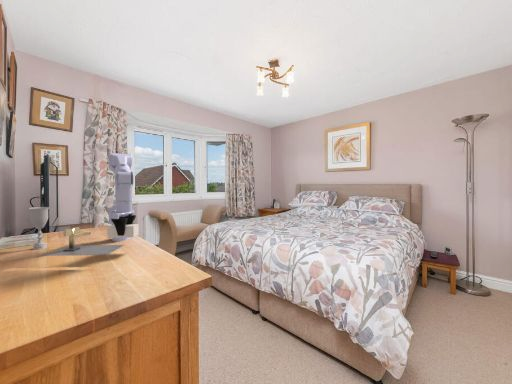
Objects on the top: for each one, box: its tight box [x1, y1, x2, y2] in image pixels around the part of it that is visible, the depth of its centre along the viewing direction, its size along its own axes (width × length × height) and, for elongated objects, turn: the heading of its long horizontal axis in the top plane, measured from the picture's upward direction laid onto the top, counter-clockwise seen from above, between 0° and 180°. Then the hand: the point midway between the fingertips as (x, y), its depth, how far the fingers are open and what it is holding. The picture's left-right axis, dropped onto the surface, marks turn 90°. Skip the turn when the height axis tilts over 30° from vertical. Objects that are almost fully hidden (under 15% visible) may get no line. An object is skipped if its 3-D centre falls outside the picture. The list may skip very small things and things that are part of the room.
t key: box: [62, 226, 91, 249], centre depth 99 cm, size 2×12×8 cm, turn 175°
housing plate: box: [41, 244, 125, 257], centre depth 97 cm, size 15×24×2 cm, turn 95°
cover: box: [106, 223, 140, 239], centre depth 94 cm, size 5×10×4 cm, turn 95°
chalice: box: [28, 206, 50, 251], centre depth 102 cm, size 7×7×18 cm
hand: (124, 233), depth 94 cm, fingers closed on cover, 5 cm apart
